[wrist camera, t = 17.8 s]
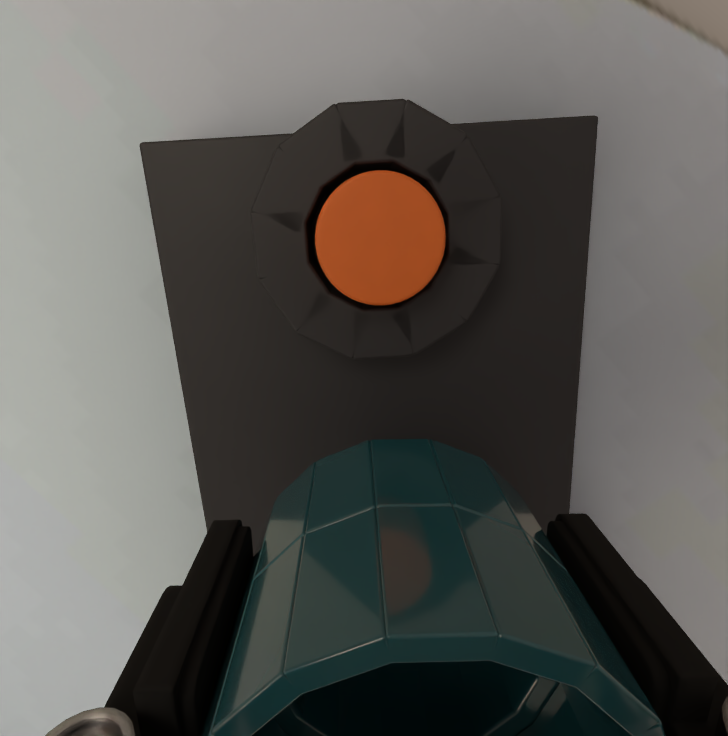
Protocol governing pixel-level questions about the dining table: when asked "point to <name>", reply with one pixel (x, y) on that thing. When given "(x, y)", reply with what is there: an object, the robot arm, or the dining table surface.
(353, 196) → the button
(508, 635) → the teal hollow faceted cylinder
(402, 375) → the scale
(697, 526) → the dining table surface
